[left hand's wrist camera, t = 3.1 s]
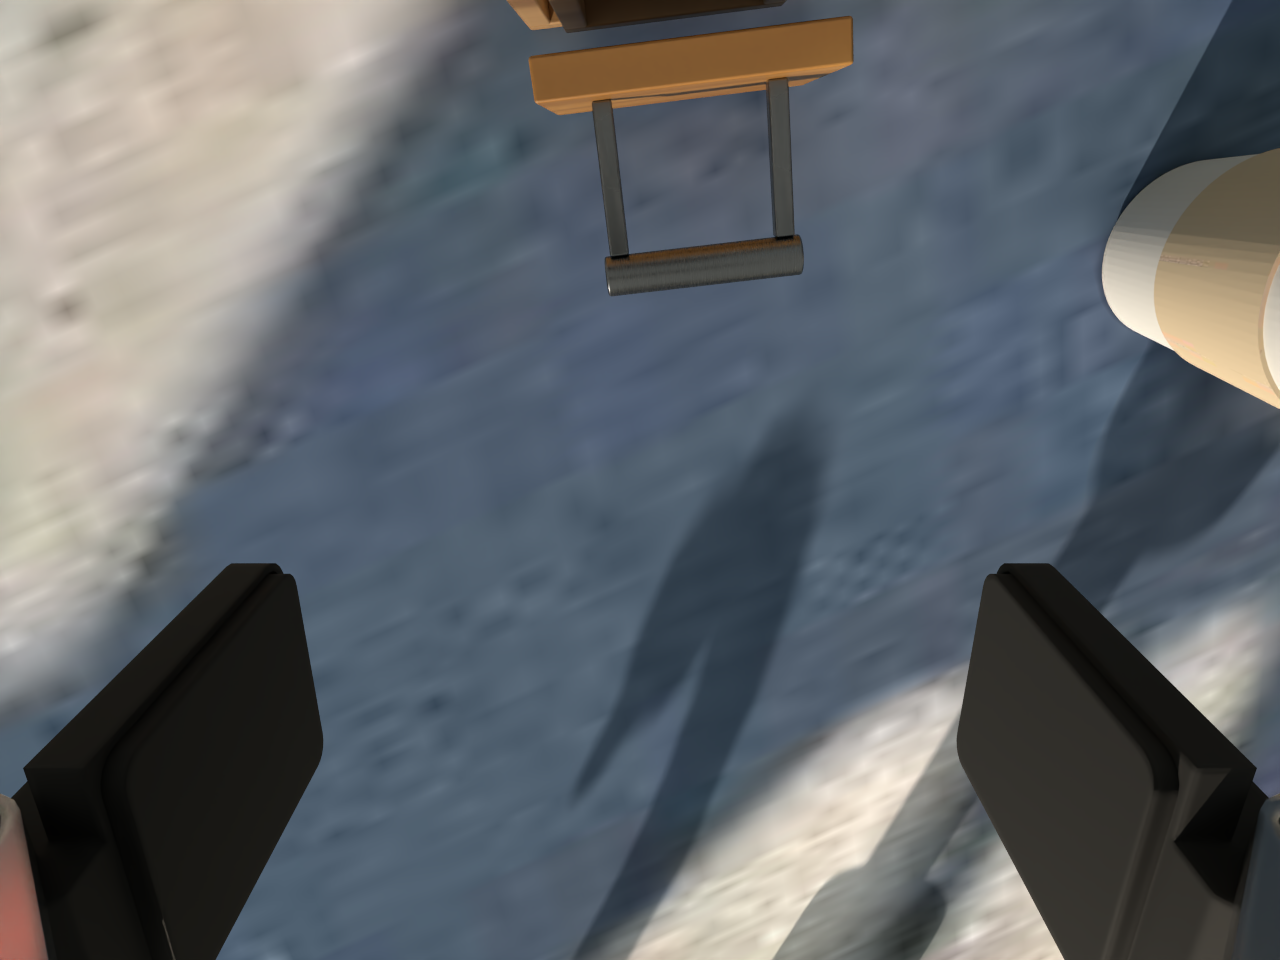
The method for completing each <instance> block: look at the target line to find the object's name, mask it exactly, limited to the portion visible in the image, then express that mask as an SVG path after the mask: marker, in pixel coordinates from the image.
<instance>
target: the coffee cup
mask: <svg viewBox="0 0 1280 960" xmlns="http://www.w3.org/2000/svg"><path fill="white" fill-rule="evenodd" d="M1102 281H1103V288H1104V292H1105V296H1106V299H1107V301H1108V303H1109V306H1110V307H1111V309H1112V311H1113V312H1114V314H1115V315H1116V316H1117V317H1118V319H1119V320H1120V321H1121V322H1123V323H1124V324H1125V325H1126V326H1127V327H1129V328H1130V329H1132V330H1134V331H1136V332H1138V333H1140V334H1142V335H1144V336H1146V337H1148V338H1150V339H1152V340H1154V341H1156V342H1158V343H1160V344H1162V345H1164V346H1166V347H1168V348H1170V349H1172V350H1174V351H1175V352H1176V353H1177V354H1178V355H1179V356H1181V357H1182V358H1183V359H1184V360H1186V361H1187V362H1189V363H1191V364H1192V365H1194V366H1196V367H1198V368H1200V369H1202V370H1204V371H1206V372H1208V373H1210V374H1212V375H1214V376H1216V377H1218V378H1220V379H1222V380H1224V381H1226V382H1228V383H1230V384H1231V385H1233V386H1235V387H1237V388H1239V389H1241V390H1243V391H1245V392H1247V393H1249V394H1251V395H1253V396H1255V397H1257V398H1259V399H1261V400H1263V401H1265V402H1267V403H1269V404H1271V405H1273V406H1275V407H1277V408H1279V409H1280V148H1278V149H1274V150H1270V151H1267V152H1264V153H1261V154H1254V155H1245V156H1237V157H1228V158H1219V159H1210V160H1202V161H1196V162H1192V163H1189V164H1186V165H1183V166H1180V167H1178V168H1175V169H1173V170H1171V171H1169V172H1167V173H1165V174H1164V175H1162V176H1160V177H1159V178H1157V179H1156V180H1154V181H1153V182H1152V183H1150V184H1149V185H1148V186H1147V187H1145V188H1144V189H1143V190H1142V191H1141V192H1140V193H1139V194H1138V195H1137V196H1136V197H1135V198H1134V199H1133V200H1132V201H1131V202H1130V204H1129V205H1128V206H1127V207H1126V209H1125V210H1124V211H1123V213H1122V214H1121V216H1120V217H1119V219H1118V220H1117V222H1116V224H1115V226H1114V228H1113V230H1112V232H1111V234H1110V237H1109V239H1108V242H1107V245H1106V249H1105V253H1104V258H1103V265H1102Z"/></svg>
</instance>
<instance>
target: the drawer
mask: <svg viewBox="0 0 1280 960" xmlns="http://www.w3.org/2000/svg"><path fill="white" fill-rule="evenodd" d="M785 1H786V0H549V2H550V4H551V6H552V8H553V9H554V11H555V13H556V15H557V17H558V18H559V20H560V22H561V24H562V26H563V27H564V29H565V31H566V33H572V32H580V31H588V30H596V29H603V28H611V27H619V26H627V25H635V24H643V23H651V22H658V21H666V20H674V19H682V18H690V17H698V16H706V15H713V14H721V13H729V12H737V11H745V10H753V9H761V8H768V7H776V6H781V5H783V4H784V3H785ZM852 63H853V19H852V17H851V16H844V17H836V18H829V19H821V20H813V21H805V22H797V23H789V24H781V25H773V26H765V27H757V28H749V29H742V30H734V31H726V32H718V33H710V34H702V35H694V36H686V37H678V38H670V39H662V40H654V41H647V42H639V43H631V44H623V45H615V46H607V47H599V48H591V49H583V50H575V51H567V52H560V53H552V54H544V55H536V56H531V57H529V66H530V73H531V80H532V87H533V94H534V100H535V102H536V103H537V104H539V105H541V106H543V107H544V108H546V109H548V110H550V111H552V112H554V113H556V114H557V115H564V114H572V113H580V112H588V111H593V119H594V127H595V135H596V143H597V152H598V160H599V168H600V176H601V184H602V192H603V201H604V209H605V217H606V225H607V233H608V241H609V250H610V255H611V256H609V257H605V271H606V280H607V287H608V293H609V295H610V296H619V295H627V294H636V293H645V292H653V291H662V290H671V289H679V288H688V287H697V286H705V285H714V284H723V283H731V282H740V281H749V280H757V279H766V278H775V277H783V276H792V275H800V274H801V273H802V271H803V266H804V253H803V245H802V240H801V237H800V235H794V234H795V233H794V208H793V184H792V160H791V135H790V111H789V87H790V86H799V85H804V84H806V83H808V82H811V81H813V80H815V79H818V78H820V77H823V76H825V75H827V74H830V73H832V72H834V71H837V70H839V69H842V68H844V67H846V66H849V65H851V64H852ZM758 90H766V98H767V118H768V138H769V158H770V178H771V198H772V218H773V235H774V236H775V237H771V238H762V239H754V240H745V241H737V242H728V243H720V244H711V245H703V246H694V247H686V248H677V249H669V250H660V251H652V252H643V253H634V254H629V248H628V239H627V231H626V222H625V213H624V204H623V195H622V187H621V178H620V169H619V160H618V152H617V143H616V134H615V125H614V117H613V108H621V107H629V106H637V105H645V104H653V103H661V102H669V101H677V100H685V99H693V98H701V97H710V96H718V95H726V94H734V93H742V92H750V91H758Z"/></svg>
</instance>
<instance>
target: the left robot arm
mask: <svg viewBox="0 0 1280 960" xmlns="http://www.w3.org/2000/svg"><path fill="white" fill-rule="evenodd" d="M322 750H323V733H322V727H321V722H320V716H319V710H318V704H317V699H316V693H315V687H314V682H313V676H312V670H311V665H310V659H309V653H308V647H307V642H306V636H305V630H304V625H303V619H302V613H301V608H300V602H299V596H298V591H297V585H296V582H295V579H294V577H293V576H292V575H291V574H283V572H282V570H281V568H280V566H278V565H277V564H276V563H233V564H230V565H228V566H227V567H226V568H225V569H224V570H223V571H222V572H221V573H220V574H219V575H218V576H217V577H216V578H215V579H214V580H213V581H212V582H211V583H210V584H209V585H208V586H207V587H206V588H205V589H204V590H203V591H202V592H201V593H200V594H198V595H197V596H196V597H195V598H194V599H193V600H192V601H191V602H190V603H189V604H188V605H187V606H186V607H185V608H184V609H183V610H182V611H181V612H180V613H179V614H178V615H177V616H176V617H175V618H174V619H173V620H172V621H171V622H170V623H169V624H168V625H167V626H166V627H165V628H164V629H163V630H162V631H161V632H160V633H159V634H158V635H157V636H156V637H155V638H154V639H153V640H152V641H151V642H150V643H149V644H148V645H147V646H146V647H145V648H144V649H143V650H142V651H141V652H140V653H139V654H138V655H137V656H136V657H135V658H134V659H133V660H132V661H131V662H130V663H129V664H128V665H127V666H126V667H125V668H124V669H123V670H122V671H121V672H120V673H119V674H118V675H117V676H116V677H115V678H114V679H113V680H112V681H111V682H110V683H109V684H108V685H107V686H106V687H105V688H104V689H103V690H102V691H101V692H100V693H99V694H98V695H97V696H96V697H95V698H94V699H92V700H91V701H90V702H89V703H88V704H87V705H86V706H85V707H84V708H83V709H82V710H81V711H80V712H79V713H78V714H77V715H76V716H75V717H74V718H73V719H72V720H71V721H70V722H69V723H68V724H67V725H66V726H65V727H64V728H63V729H62V730H61V731H60V732H59V733H58V734H57V735H56V736H55V737H54V738H53V739H52V740H51V741H50V742H49V743H48V744H47V745H46V746H45V747H44V748H43V749H42V750H41V751H40V752H39V753H38V754H37V755H36V756H35V757H34V758H33V759H32V760H31V761H30V762H29V763H28V764H27V765H26V766H25V767H24V768H23V769H24V772H25V775H26V778H27V782H26V783H25V784H24V785H23V786H22V787H21V789H20V790H19V791H18V792H17V793H16V794H15V795H14V796H13V797H12V798H9V797H7V796H4V795H2V794H0V960H216V958H217V956H218V954H219V952H220V950H221V948H222V946H223V944H224V943H225V941H226V939H227V937H228V935H229V933H230V931H231V929H232V927H233V926H234V924H235V922H236V920H237V918H238V916H239V914H240V912H241V910H242V909H243V907H244V905H245V903H246V901H247V899H248V897H249V895H250V893H251V892H252V890H253V888H254V886H255V884H256V882H257V880H258V878H259V876H260V875H261V873H262V871H263V869H264V867H265V865H266V863H267V861H268V859H269V858H270V856H271V854H272V852H273V850H274V848H275V846H276V844H277V842H278V841H279V839H280V837H281V835H282V833H283V831H284V829H285V827H286V825H287V823H288V822H289V820H290V818H291V816H292V814H293V812H294V810H295V808H296V806H297V805H298V803H299V801H300V799H301V797H302V795H303V793H304V791H305V789H306V788H307V786H308V784H309V782H310V780H311V778H312V776H313V774H314V772H315V771H316V769H317V767H318V765H319V762H320V759H321V756H322ZM957 750H958V756H959V759H960V762H961V765H962V767H963V769H964V771H965V772H966V774H967V776H968V778H969V780H970V782H971V784H972V786H973V788H974V789H975V791H976V793H977V795H978V797H979V799H980V801H981V803H982V805H983V806H984V808H985V810H986V812H987V814H988V816H989V818H990V820H991V822H992V823H993V825H994V827H995V829H996V831H997V833H998V835H999V837H1000V839H1001V841H1002V842H1003V844H1004V846H1005V848H1006V850H1007V852H1008V854H1009V856H1010V858H1011V859H1012V861H1013V863H1014V865H1015V867H1016V869H1017V871H1018V873H1019V875H1020V876H1021V878H1022V880H1023V882H1024V884H1025V886H1026V888H1027V890H1028V892H1029V893H1030V895H1031V897H1032V899H1033V901H1034V903H1035V905H1036V907H1037V909H1038V910H1039V912H1040V914H1041V916H1042V918H1043V920H1044V922H1045V924H1046V926H1047V927H1048V929H1049V931H1050V933H1051V935H1052V937H1053V939H1054V941H1055V943H1056V944H1057V946H1058V948H1059V950H1060V952H1061V954H1062V956H1063V958H1064V960H1280V794H1278V795H1276V796H1273V797H1271V798H1268V797H1267V796H1266V795H1265V794H1264V793H1263V792H1262V791H1261V790H1260V789H1259V787H1258V786H1257V785H1256V784H1255V783H1254V782H1253V778H1254V775H1255V772H1256V769H1257V768H1256V767H1255V766H1254V765H1253V764H1252V763H1251V762H1250V761H1249V760H1248V759H1247V758H1246V757H1245V756H1244V755H1243V754H1242V753H1241V752H1240V751H1239V750H1238V749H1237V748H1236V747H1235V746H1234V745H1233V744H1232V743H1231V742H1230V741H1229V740H1228V739H1227V738H1226V737H1225V736H1224V735H1223V734H1222V733H1221V732H1220V731H1219V730H1218V729H1217V728H1216V727H1215V726H1214V725H1213V724H1212V723H1211V722H1210V721H1209V720H1208V719H1207V718H1206V717H1205V716H1204V715H1203V714H1202V713H1201V712H1200V711H1199V710H1198V709H1197V708H1196V707H1195V706H1194V705H1193V704H1192V703H1191V702H1190V701H1189V700H1188V699H1186V698H1185V697H1184V696H1183V695H1182V694H1181V693H1180V692H1179V691H1178V690H1177V689H1176V688H1175V687H1174V686H1173V685H1172V684H1171V683H1170V682H1169V681H1168V680H1167V679H1166V678H1165V677H1164V676H1163V675H1162V674H1161V673H1160V672H1159V671H1158V670H1157V669H1156V668H1155V667H1154V666H1153V665H1152V664H1151V663H1150V662H1149V661H1148V660H1147V659H1146V658H1145V657H1144V656H1143V655H1142V654H1141V653H1140V652H1139V651H1138V650H1137V649H1136V648H1135V647H1134V646H1133V645H1132V644H1131V643H1130V642H1129V641H1128V640H1127V639H1126V638H1125V637H1124V636H1123V635H1122V634H1121V633H1120V632H1119V631H1118V630H1117V629H1116V628H1115V627H1114V626H1113V625H1112V624H1111V623H1110V622H1109V621H1108V620H1107V619H1106V618H1105V617H1104V616H1103V615H1102V614H1101V613H1100V612H1099V611H1098V610H1097V609H1096V608H1095V607H1094V606H1093V605H1092V604H1091V603H1090V602H1089V601H1088V600H1087V599H1086V598H1085V597H1084V596H1083V595H1082V594H1080V593H1079V592H1078V591H1077V590H1076V589H1075V588H1074V587H1073V586H1072V585H1071V584H1070V583H1069V582H1068V581H1067V580H1066V579H1065V578H1064V577H1063V576H1062V575H1061V574H1060V573H1059V572H1058V571H1057V570H1056V569H1055V568H1054V567H1053V566H1052V565H1050V564H1047V563H1004V564H1003V565H1002V566H1000V568H999V570H998V572H997V574H989V575H988V576H987V577H986V579H985V582H984V585H983V591H982V596H981V602H980V608H979V613H978V619H977V625H976V630H975V636H974V642H973V647H972V653H971V659H970V665H969V670H968V676H967V682H966V687H965V693H964V699H963V704H962V710H961V716H960V722H959V727H958V733H957Z"/></svg>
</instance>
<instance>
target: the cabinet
mask: <svg viewBox="0 0 1280 960" xmlns="http://www.w3.org/2000/svg"><path fill="white" fill-rule="evenodd" d="M507 1H508V3H509V4H510V5H511V6H512V7H513V9H514V10H515V11H516V12H517V13H518V15H519V16H520V17H521V18H522V20H523V21H524V22H525V23H526V24H527V26H528V27H529V28H530V29H531V30H537V29H545V28H553V27H561V26H562V24H561V22H560V20H559V18H558V17H557V15H556V13H555V11H554V9H553V8H552V6H551V4H550V2H549V0H507Z"/></svg>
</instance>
